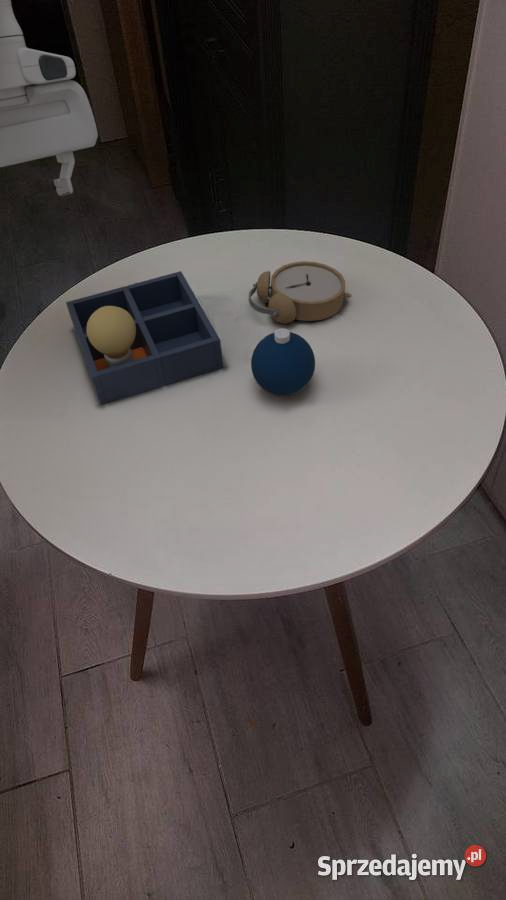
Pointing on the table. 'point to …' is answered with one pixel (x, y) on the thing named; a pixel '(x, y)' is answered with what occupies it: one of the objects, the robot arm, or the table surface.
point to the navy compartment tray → (150, 337)
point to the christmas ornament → (283, 363)
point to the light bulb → (112, 334)
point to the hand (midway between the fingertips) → (29, 203)
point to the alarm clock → (300, 292)
